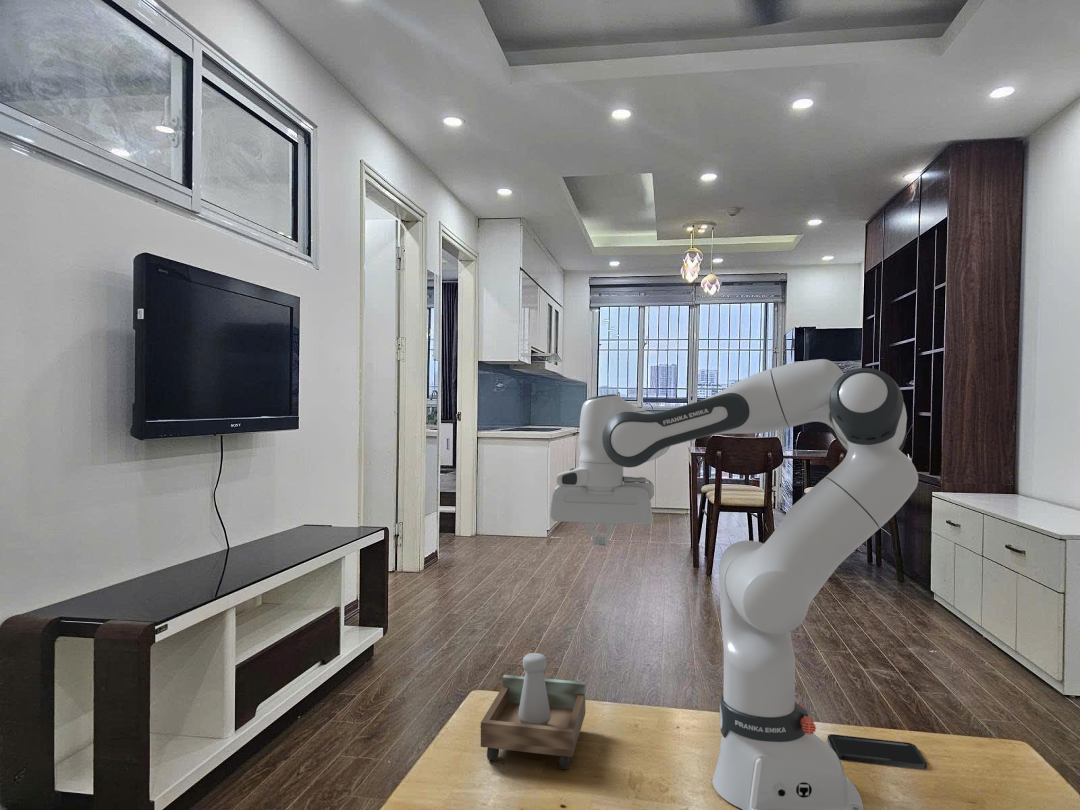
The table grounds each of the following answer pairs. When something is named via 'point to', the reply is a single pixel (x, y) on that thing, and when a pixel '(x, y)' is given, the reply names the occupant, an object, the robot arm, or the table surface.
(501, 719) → the open wooden tray
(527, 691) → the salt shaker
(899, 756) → the phone
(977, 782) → the table surface
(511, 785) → the table surface
